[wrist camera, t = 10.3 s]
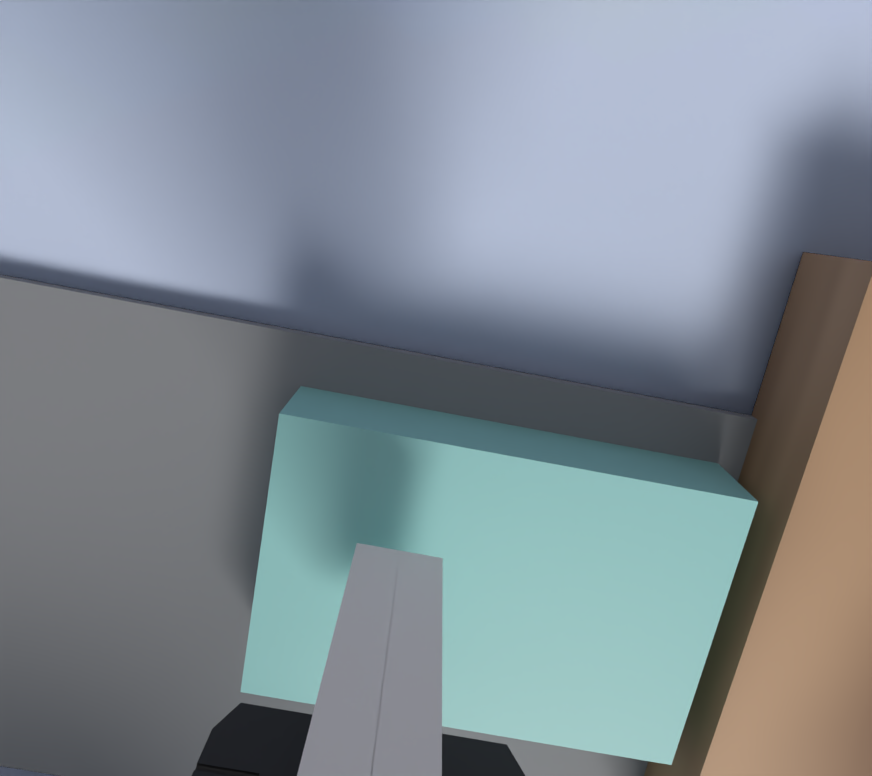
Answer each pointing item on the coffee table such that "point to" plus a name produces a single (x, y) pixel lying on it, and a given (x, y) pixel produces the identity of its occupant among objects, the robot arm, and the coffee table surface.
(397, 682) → the robot arm
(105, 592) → the mat
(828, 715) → the wooden board
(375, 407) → the teal rectangular block
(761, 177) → the coffee table surface
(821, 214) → the coffee table surface
